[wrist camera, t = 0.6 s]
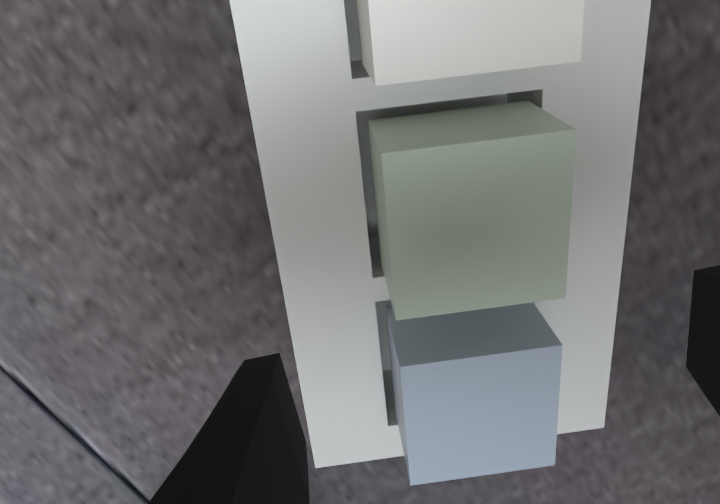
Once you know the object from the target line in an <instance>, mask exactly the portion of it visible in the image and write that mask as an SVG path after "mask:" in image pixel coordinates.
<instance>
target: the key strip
mask: <svg viewBox="0 0 720 504" xmlns="http://www.w3.org/2000/svg"><path fill="white" fill-rule="evenodd" d="M230 6H231V11H232V16H233V22H234V27H235V33H236V38H237V44H238V49H239V55H240V60H241V65H242V71H243V76H244V82H245V87H246V93H247V98H248V104H249V109H250V114H251V120H252V125H253V131H254V136H255V142H256V147H257V153H258V158H259V163H260V169H261V174H262V180H263V185H264V191H265V196H266V202H267V207H268V212H269V218H270V223H271V229H272V234H273V240H274V245H275V251H276V256H277V262H278V267H279V272H280V278H281V283H282V289H283V294H284V300H285V305H286V311H287V316H288V321H289V327H290V332H291V338H292V343H293V349H294V354H295V360H296V365H297V370H298V376H299V381H300V387H301V392H302V398H303V403H304V409H305V414H306V419H307V425H308V430H309V436H310V441H311V447H312V452H313V458H314V463H315V468H320V467H327V466H334V465H341V464H348V463H355V462H362V461H369V460H377V459H384V458H391V457H398V456H404V452H403V448H402V443H401V438H400V433H399V428H398V423H397V418H396V413H395V402H394V392H393V381H392V371H391V360H390V350H389V339H388V329H387V318H386V308H385V306H387V305H392V303H391V300H390V296H389V292H388V288H387V284H386V280H385V277H384V273H383V269H382V265H381V255H380V245H379V234H378V224H377V213H376V203H375V192H374V182H373V171H372V161H371V150H370V140H369V130H368V120H374V119H382V118H390V117H399V116H407V115H415V114H423V113H432V112H440V111H448V110H456V109H465V108H473V107H481V106H489V105H498V104H506V103H514V102H522V101H529V102H531V103H533V104H534V105H536V106H538V107H539V108H541V109H543V110H545V111H546V112H548V113H550V114H551V115H553V116H555V117H556V118H558V119H560V120H561V121H563V122H565V123H566V124H568V125H570V126H571V127H573V128H575V129H576V143H575V158H574V174H573V190H572V205H571V221H570V237H569V252H568V268H567V283H566V298H563V299H555V300H547V301H540V302H533V303H534V304H535V306H536V307H537V308H538V310H539V311H540V313H541V314H542V316H543V317H544V319H545V320H546V322H547V323H548V324H549V326H550V327H551V329H552V330H553V332H554V333H555V335H556V336H557V338H558V339H559V341H560V342H561V343H562V345H563V346H562V361H561V377H560V393H559V408H558V424H557V434H562V433H569V432H576V431H583V430H590V429H597V428H604V422H605V413H606V404H607V395H608V386H609V377H610V368H611V359H612V350H613V341H614V332H615V323H616V314H617V305H618V296H619V287H620V278H621V269H622V260H623V250H624V241H625V232H626V223H627V214H628V205H629V196H630V187H631V178H632V169H633V160H634V151H635V142H636V133H637V124H638V115H639V106H640V97H641V88H642V78H643V69H644V60H645V51H646V42H647V33H648V24H649V15H650V6H651V0H585V2H584V18H583V34H582V49H581V62H573V63H564V64H556V65H547V66H539V67H531V68H522V69H514V70H506V71H497V72H489V73H481V74H472V75H464V76H455V77H447V78H439V79H430V80H422V81H414V82H405V83H397V84H388V85H380V86H375V84H374V83H373V81H372V79H371V78H370V76H369V74H368V73H367V71H366V69H365V68H364V66H363V64H362V56H361V46H360V35H359V25H358V14H357V4H356V0H230Z"/></svg>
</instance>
